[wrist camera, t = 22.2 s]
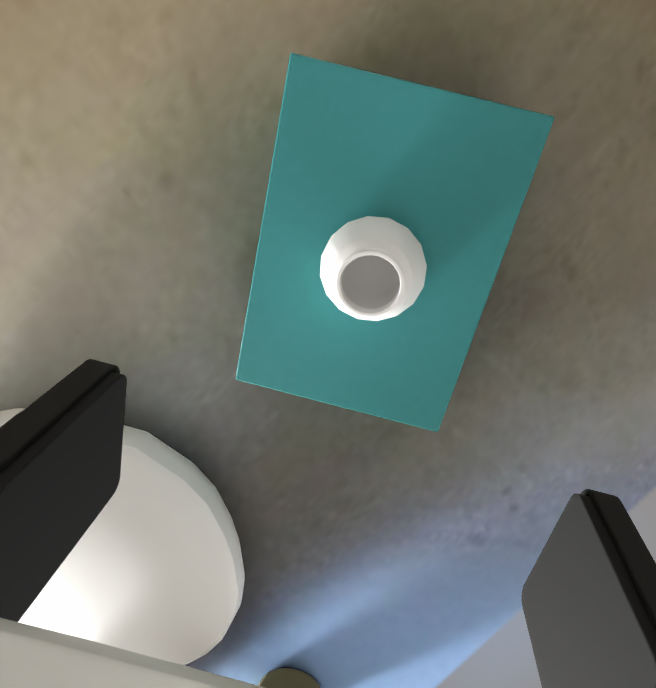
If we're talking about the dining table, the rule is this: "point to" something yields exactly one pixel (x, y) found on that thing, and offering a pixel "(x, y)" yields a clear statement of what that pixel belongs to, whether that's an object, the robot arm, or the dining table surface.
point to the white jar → (373, 268)
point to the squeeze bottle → (288, 679)
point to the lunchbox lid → (389, 202)
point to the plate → (149, 561)
